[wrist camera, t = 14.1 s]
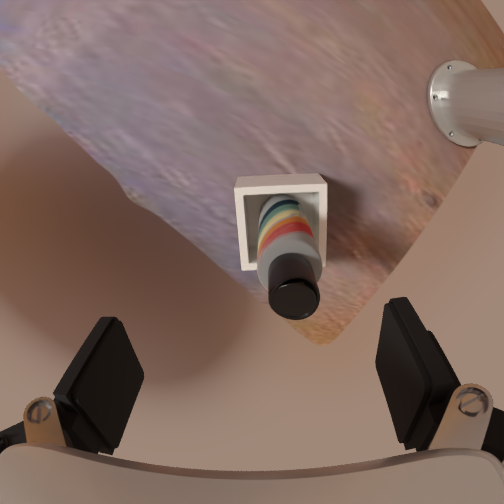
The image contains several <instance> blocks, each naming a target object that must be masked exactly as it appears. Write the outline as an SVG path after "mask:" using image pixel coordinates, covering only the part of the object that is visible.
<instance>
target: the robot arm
mask: <svg viewBox="0 0 504 504" xmlns="http://www.w3.org/2000/svg"><path fill="white" fill-rule="evenodd" d="M447 67H448V68H447ZM433 97H434V99H433ZM428 105H429V110H430V113H431V116H432V119H433V121H434V123H435V125H436V126H437V128H438V129H439V131H440V132H441V133H442V134H443V135H444V136H445V137H446V138H447V139H448V140H450V141H451V142H453V143H455V144H458V145H461V146H467V147H471V146H476V145H478V144H481V143H482V142H483V141H489V142H492V143H496V144H499V145H503V146H504V68H490V69H477V68H476V67H475V66H473V65H471V64H470V63H467V62H464V61H459V60H456V61H449V62H445V63H443V64H442V65H440V66H439V67H438V68H437V69H436V70H435V71H434V73H433V75H432V76H431V79H430V82H429V86H428ZM449 133H450V134H449ZM375 363H376V370H377V372H378V376H379V379H380V382H381V385H382V388H383V391H384V394H385V397H386V401H387V404H388V407H389V411H390V414H391V417H392V421H393V424H394V427H395V431H396V435H397V438H398V441H399V443H404V446H405V450H409V449H413V448H416V451H417V452H415V453H409V454H404V455H398V456H393V457H388V458H383V459H378V460H372V461H366V462H359V463H352V464H345V465H338V466H331V467H322V468H310V469H298V470H280V471H218V470H202V469H189V468H179V467H170V466H161V465H154V464H147V463H141V462H135V461H129V460H124V459H118V458H113V457H108V456H104V455H99V454H98V452H101V453H105V454H110V455H113V452H114V449H115V448H117V447H118V446H119V443H120V441H121V438H122V436H123V433H124V430H125V427H126V424H127V422H128V419H129V417H130V414H131V411H132V409H133V406H134V403H135V401H136V398H137V395H138V392H139V390H140V388H141V385H142V383H143V380H144V372H143V369H142V367H141V365H140V363H139V361H138V358H137V356H136V354H135V352H134V350H133V348H132V345H131V343H130V340H129V338H128V335H127V333H126V331H125V328H124V326H123V324H122V322H121V321H119V320H118V319H117V318H116V317H101V318H100V319H99V321H98V322H97V324H96V325H95V327H94V328H93V330H92V331H91V333H90V334H89V336H88V337H87V339H86V340H85V342H84V343H83V345H82V346H81V348H80V350H79V351H78V353H77V354H76V356H75V357H74V359H73V361H72V362H71V364H70V366H69V367H68V369H67V370H66V372H65V374H64V375H63V377H62V378H61V380H60V382H59V384H58V385H57V387H56V389H55V390H54V392H53V394H54V396H55V398H54V400H52V399H51V398H49V397H39V398H36V399H34V400H33V401H31V402H30V403H29V404H28V405H27V407H26V408H25V411H24V415H23V419H24V421H22V422H20V423H18V424H16V425H14V426H11V427H9V428H7V429H5V430H3V431H1V432H0V504H504V411H502V410H499V409H497V408H494V407H493V399H492V396H491V394H490V393H489V392H488V391H487V390H486V389H485V388H484V387H482V386H480V385H478V384H473V383H470V384H464V385H461V384H460V382H459V380H458V378H457V376H456V374H455V372H454V370H453V368H452V367H451V365H450V363H449V361H448V359H447V357H446V356H445V354H444V352H443V350H442V348H441V347H440V345H439V343H438V341H437V340H436V338H435V336H434V335H433V333H432V332H431V331H427V330H426V328H425V327H424V325H423V323H422V322H421V320H420V319H419V316H418V315H417V313H416V312H415V310H414V308H413V307H412V305H411V303H410V302H409V300H408V299H407V297H400V298H392V299H390V301H389V303H387V304H385V305H384V312H383V318H382V325H381V331H380V337H379V344H378V349H377V355H376V361H375Z"/></svg>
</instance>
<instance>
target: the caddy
mask: <svg viewBox="0 0 504 504" xmlns="http://www.w3.org/2000/svg"><path fill="white" fill-rule="evenodd" d="M234 192H235V203H236V214H237V225H238V236H239V246H240V257H241V268H242V270H257V253H258V229H259V213H260V209H261V206H262V204H263V203H264V202H265V201H266V200H267V199H268V198H269V197H271V196H273V195H276V194H287V195H290V196H292V197H294V198H295V199H297V200H298V201H299V203H300V204H301V206H302V208H303V210H304V213H305V215H306V218H307V220H308V223H309V226H310V228H311V231H312V234H313V236H314V239H315V242H316V244H317V247H318V250H319V253H320V256H321V260H322V267H324V266H326V241H327V183H326V182H325V181H324V179H323V178H322V177H321V176H320V175H319V173H308V174H281V175H261V176H244V177H238V179H237V182H236V184H235V187H234Z"/></svg>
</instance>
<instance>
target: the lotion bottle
mask: <svg viewBox="0 0 504 504" xmlns="http://www.w3.org/2000/svg"><path fill="white" fill-rule="evenodd" d="M257 272H258V277H259V279H260V281H261V283H262V285H263V286H264V287H265V288H266V289H267V290H268V299H269V304H270V306H271V308H272V309H273V310H274V312H276V313H277V314H278V315H280V316H282V317H284V318H287V319H291V320H301V319H305V318H307V317H309V316H311V315H312V314H313V313H314V312H315V311H316V309H317V307H318V305H319V302H320V293H319V288H318V285H317V282H318V281H319V279H320V277H321V273H322V260H321V256H320V253H319V250H318V247H317V244H316V242H315V239H314V236H313V234H312V231H311V228H310V226H309V223H308V220H307V218H306V215H305V213H304V210H303V208H302V206H301V204H300V203H299V201H298V200H297V199H295V198H294V197H292V196H290V195H287V194H276V195H273V196H271V197H269V198H268V199H267V200H266V201H265V202H264V203H263V204H262V206H261V209H260V213H259V229H258V253H257Z"/></svg>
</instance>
